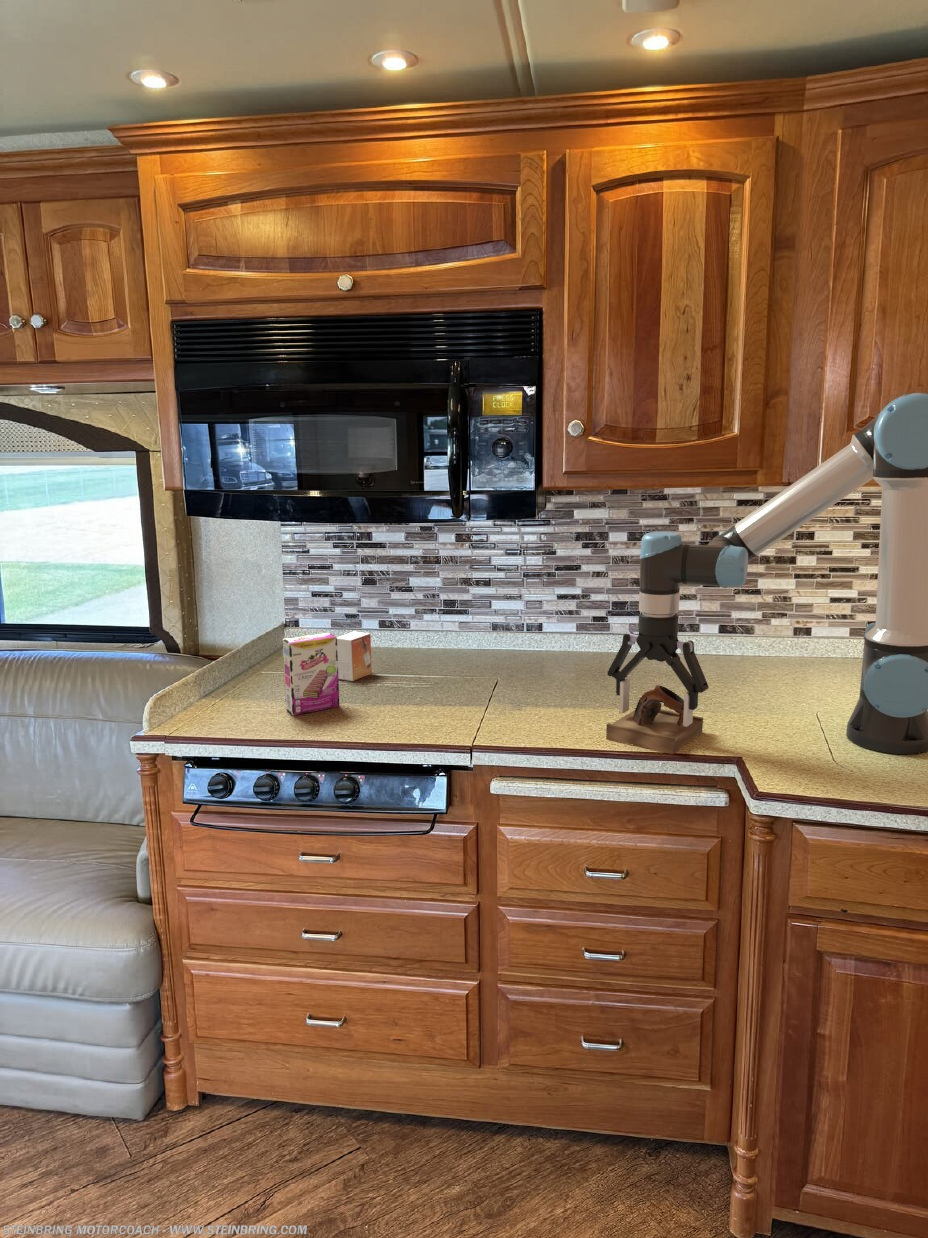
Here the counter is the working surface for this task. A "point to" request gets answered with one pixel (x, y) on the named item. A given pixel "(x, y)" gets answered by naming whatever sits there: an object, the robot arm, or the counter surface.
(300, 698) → the candy bar box
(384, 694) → the counter surface
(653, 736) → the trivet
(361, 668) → the small box
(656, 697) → the brown hollow arched piece
